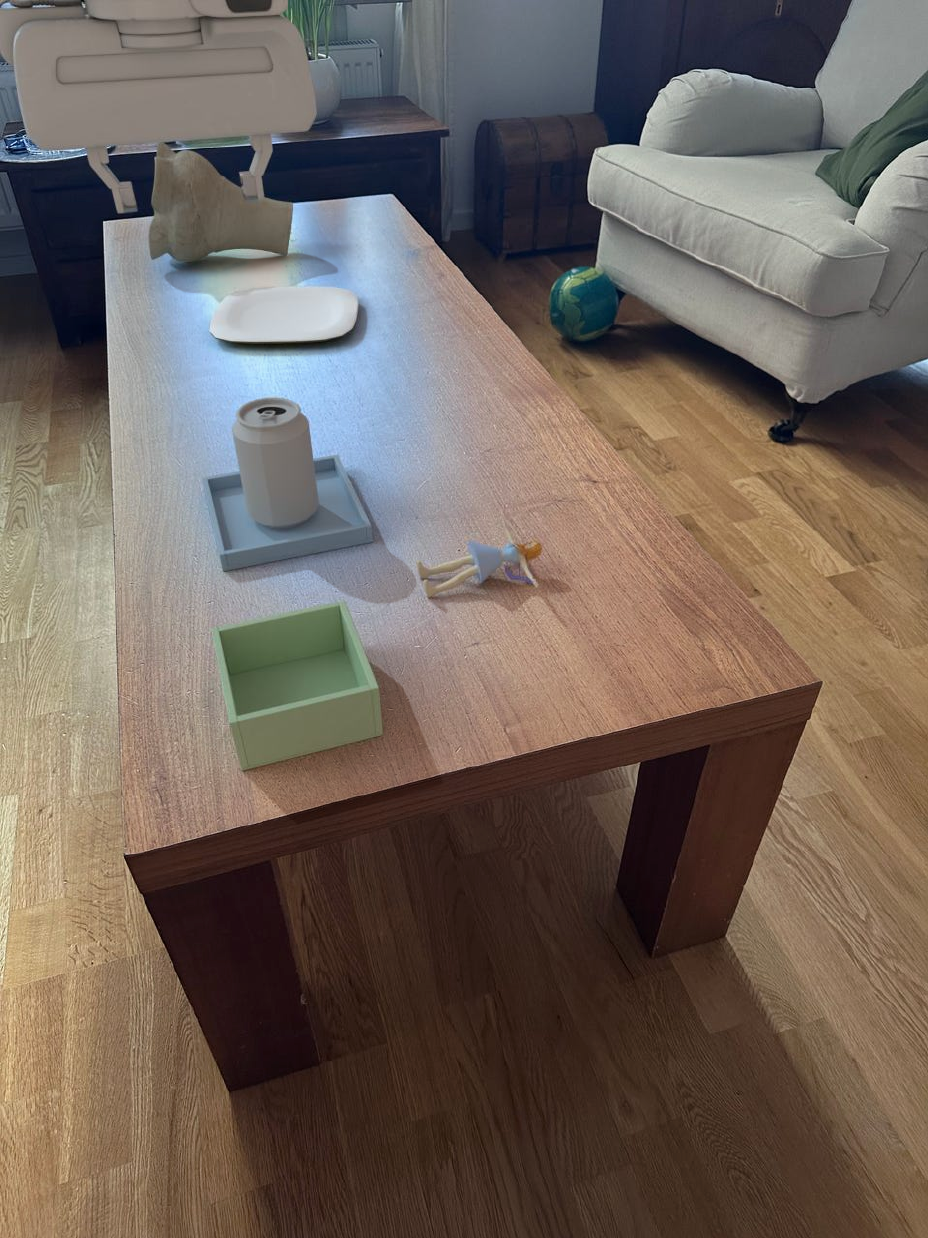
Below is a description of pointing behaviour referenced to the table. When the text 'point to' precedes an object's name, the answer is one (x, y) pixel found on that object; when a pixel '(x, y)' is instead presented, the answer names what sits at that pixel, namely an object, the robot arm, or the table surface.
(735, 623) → the table surface
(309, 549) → the tray
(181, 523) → the table surface
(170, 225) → the vase
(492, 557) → the fairy figurine
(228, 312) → the plate
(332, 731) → the bin
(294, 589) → the table surface
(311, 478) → the can
